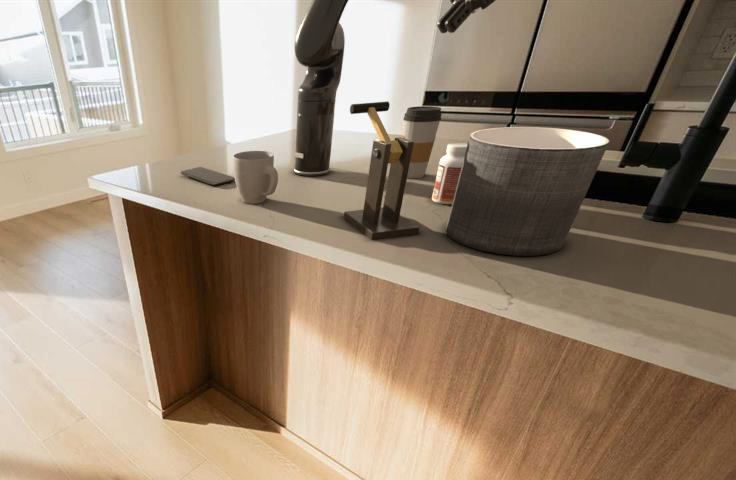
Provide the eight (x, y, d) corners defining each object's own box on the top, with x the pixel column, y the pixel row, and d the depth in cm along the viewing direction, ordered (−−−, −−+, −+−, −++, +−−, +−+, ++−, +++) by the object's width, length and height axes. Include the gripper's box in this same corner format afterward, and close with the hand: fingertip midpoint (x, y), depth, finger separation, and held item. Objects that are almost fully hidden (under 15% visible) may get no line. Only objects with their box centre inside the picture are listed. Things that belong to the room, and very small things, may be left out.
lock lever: (348, 112, 78) (352, 100, 76) (383, 109, 79) (388, 97, 77) (372, 165, 73) (377, 153, 70) (410, 161, 73) (416, 150, 71)
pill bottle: (469, 201, 89) (485, 144, 83) (451, 207, 86) (467, 149, 80) (442, 194, 93) (455, 140, 87) (424, 200, 91) (437, 144, 84)
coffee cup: (433, 178, 104) (449, 109, 95) (399, 180, 104) (412, 111, 95) (421, 170, 110) (435, 105, 102) (389, 171, 111) (400, 107, 102)
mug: (226, 199, 98) (224, 155, 92) (256, 192, 102) (256, 148, 96) (260, 212, 90) (260, 164, 84) (290, 203, 94) (292, 156, 88)
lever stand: (343, 218, 84) (352, 137, 76) (385, 213, 85) (399, 132, 77) (371, 239, 75) (385, 149, 66) (418, 234, 76) (438, 144, 67)
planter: (423, 226, 78) (445, 133, 69) (502, 213, 82) (532, 123, 73) (499, 264, 64) (539, 154, 55) (590, 247, 68) (642, 140, 59)
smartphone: (213, 183, 106) (179, 171, 117) (213, 187, 107) (179, 175, 117) (236, 177, 110) (201, 166, 120) (236, 181, 111) (201, 170, 121)
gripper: (494, -84, 71) (411, 13, 76) (563, -108, 59) (459, 6, 65) (512, -42, 74) (431, 47, 80) (579, -58, 63) (480, 46, 69)
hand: (444, 28), depth 72 cm, fingers closed
